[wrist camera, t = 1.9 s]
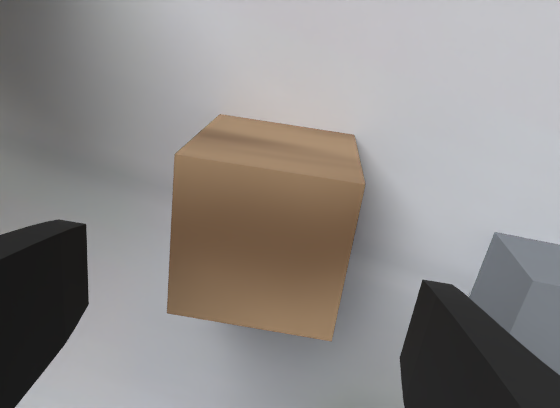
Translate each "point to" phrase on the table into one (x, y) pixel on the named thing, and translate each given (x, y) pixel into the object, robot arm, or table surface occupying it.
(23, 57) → the table surface
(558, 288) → the slate base block
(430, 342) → the robot arm
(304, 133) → the walnut block
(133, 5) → the table surface
